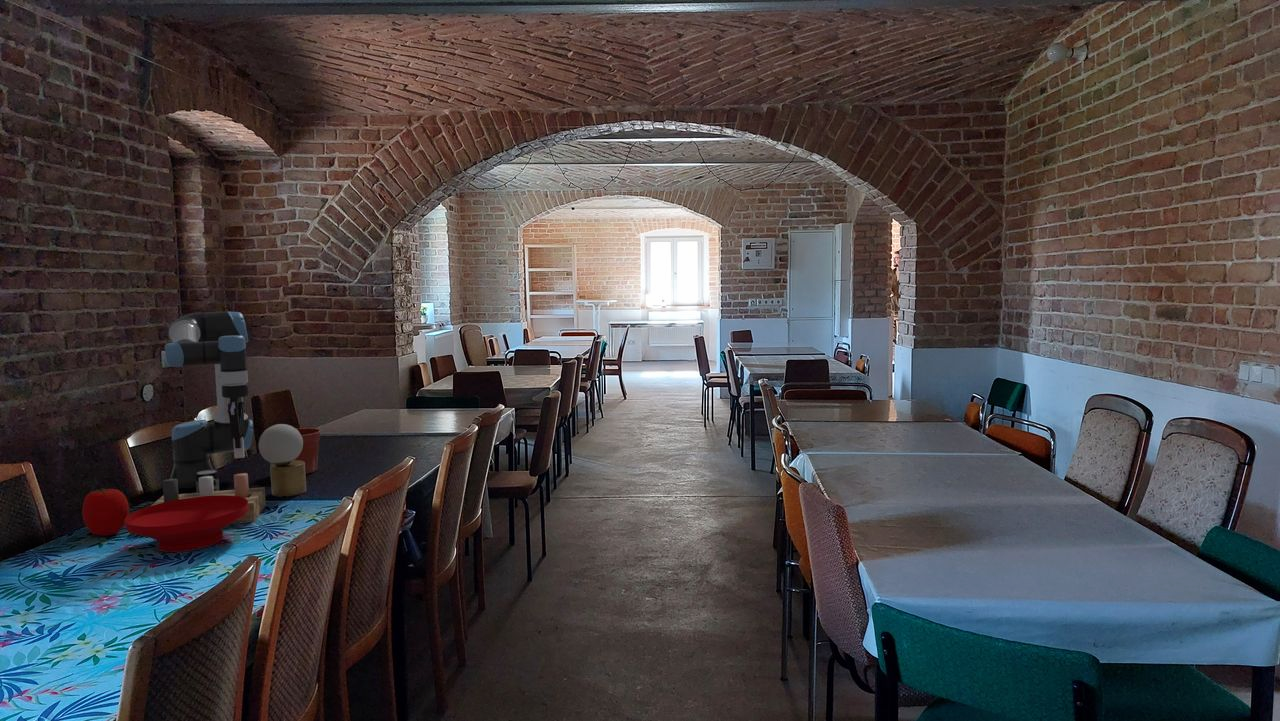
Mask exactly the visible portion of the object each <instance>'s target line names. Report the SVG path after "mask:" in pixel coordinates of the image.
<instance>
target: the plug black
mask: <svg viewBox="0 0 1280 721" xmlns="http://www.w3.org/2000/svg"><path fill="white" fill-rule="evenodd" d="M162 492H163V493H162V494H163V495H162V496H164V502H169V501H174V500H179V488H178V480H177V479H170V478H168V479H163V480H162Z"/></svg>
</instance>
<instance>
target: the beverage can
mask: <svg viewBox="0 0 1280 721" xmlns="http://www.w3.org/2000/svg"><path fill="white" fill-rule="evenodd" d="M204 476H213V484H214V491H220V480H219V479H220V477H219V474H218V472H217V470H215V469H213V470H205V471H200V472H197V476H196V487H195V488H196V493H200V492H199V478H200V477H204Z"/></svg>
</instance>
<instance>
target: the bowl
mask: <svg viewBox="0 0 1280 721" xmlns="http://www.w3.org/2000/svg"><path fill="white" fill-rule="evenodd" d="M151 505H152V506H151ZM151 505H150V506H147V507H144V508H143V507H142V508H141V509H137V510H136V511H133V512H131V513H129V515H128V516H127V517H126V518H125V520H124V521H125V525H124V526H125V529H126V530H125V531H127V532H128V533H130V534H134V535H139V536H143V537H146V538H150V539H152V540H157V541H158V549H159V550H160V551H161V550H162V552H165V553H166V552H167V553H180V552H181V553H182V552H189V551H194V550H195V551H196V550H199V549H200V550H201V549H204V548H208V547H210V546H213V545H216V544H218V543H219V542H221V541H222V540H223V539H224V534H223V530H224V529H225V528H227V527H228V526H229V525H232V524H231V523H232V522H234V521H235V520H237V519H238V518H240V517H242V516H244V515H245V514H246V513H247V512H248V510H249V508H248V500H247V499H245V498H243V497H239V496H230V495H215V496H201V497H193V498H185V499H179V500H174V501H169V502H164V503H160V504H156V505H153V504H151Z"/></svg>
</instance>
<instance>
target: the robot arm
mask: <svg viewBox="0 0 1280 721" xmlns="http://www.w3.org/2000/svg"><path fill="white" fill-rule="evenodd" d="M168 337H169V339H170V340H171V342H170V343H169V342H168V343H166V344H165V345H164V353H165V355H164V356H165V364H166V365H167V366H168V367H177V368H181V367H190V366H191V367H192V366H207V365H209V366H210V365H211V366H212V365H214V372H215V389H216V406H217V408H216V409H217V414H216V415H215V416H214V417H213V422H210V423H208V421H207V420H206V419H197V420H191V421H187V422H183V423H179V424H177V425H175V426H173V427H172V429H171V441H172V457H173V459H172V460H173V467H172V471H171V475H170V478H169V479H177V480H178V489H193V488H196V476H197V472H200V471H205V470H214V468H213V465H212V464H211V460H210V455H214V454H215V455H216V454H225V453H226V454H227V453H233V455H234V456H233V458H234V459H244V458H245V456H246V455H245V451H247V450H249V449H250V448H251V447H252V446H251V445H252V441H253V433H254V432H253V426H254V423H253V420H252V419H249V416H248V414H246V413H245V406H246V405H245V402H244V400H243V398H245V397H249V395H250V394H249V393H250V391H249V384H248V383H249V374H248V366H247V365H248V364H247V349H246V348H247V343H249V338H248V337H249V335H248V331H247V324H246V321H245V318H244V315H243V313H241V312H239V311H228V310H227V311H210V312H209V311H207V312H198V311H197V312H191V313H188V314H185V315H183V316H181V317H179V318H177V319H175V320H174V321H173V322H172V324H170V326H169V329H168Z"/></svg>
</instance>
